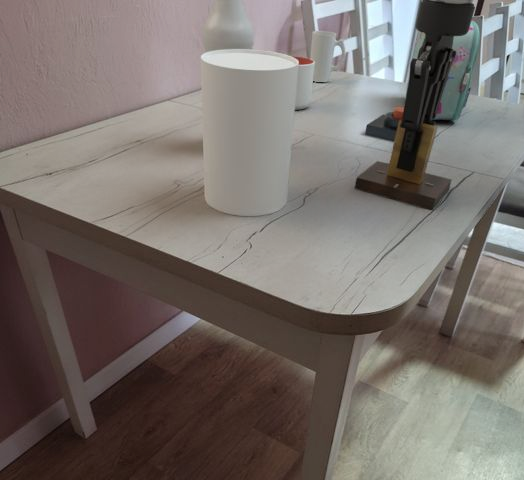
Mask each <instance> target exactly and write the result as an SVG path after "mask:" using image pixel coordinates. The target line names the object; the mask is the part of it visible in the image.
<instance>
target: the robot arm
mask: <svg viewBox="0 0 524 480" xmlns="http://www.w3.org/2000/svg"><path fill="white" fill-rule="evenodd" d="M473 2H474V0H421V1H420V3H419V7H418V12H417V17H416V21H415V29H416V30H417V32H418V31H420V32H424V33H425V38H424V41H423V44H422V47H421V48H420V49H419V53H418V57H417V59H414V58H413V59H412V58H411V60H410V64H409V72H410V77H409V76H408V78H409V83H408V82H407V83H408V89H407V88H406V89H407V94H406V93H405V101H404V105H403V107H404V111H403V117H402V122H401V124H400V127H401V128H405V133H404V137H403V141H402V145H401V150H400V154H399V158H398V163H397V167H396V168H398V169H402V170H405V171H409V172H412V171H413V168H414V164H415V160H416V156H417V152H418V149H419V145H420V141H421V137H422V133H423V131H422V130H421V129H422V124H423V123H425V124H429V125H433V126H436V123H437V121H436V120H432V119H435V117H436V115H437V111H438V107H439V104H440V101H441V98H442V94H443V91H444V88H445V85H446V81H447V78H448V75H449V71H450V68H451V66H452V63H453V61H454V58H455V56H456V51H455V50H453V49H451V48H452V45H453V39H454V36H463V35H466V34H467V33H468V31H469V28H470V24H471V21H473V17H474V13H475V10H476V6H475V4H474V3H473Z"/></svg>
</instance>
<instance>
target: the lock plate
mask: <svg viewBox="0 0 524 480" xmlns="http://www.w3.org/2000/svg"><path fill="white" fill-rule="evenodd" d="M388 168H389V163H388V162H384V161H380V160H377V161H376V162H374V163H373V164H372V165H370V166H369V167H368V168H367V169H365V170H364V171H363V172H362V173H360V174H359V175H357V177H355V182H354V183H355V184H354V189H355V190H359V191H361V192H366V193H370V194H373V195H376V196H380V197H384V198H388V199H391V200H395V201H398V202H402V203H404V204H405V203H406V204H409V205H412V206H416V207H420V208H423V209H428V210H431V211H433V210H434V209H435V207H436V206H437V205H438V204H439V203H440V201H441V200H442V199H443V198H444V197H445V195H446V194H447V193H448V192H449V191H450V187H451V185H452V181H453V180H452V179H451V178H447V177H444V176H439V175H435V174H432V173H427V172H425V175H424V179H423V181H422V182H421V183H420V184H417V183H413V182H410V181H406V180H403V179H399V178H396V177H392V176H389V175H387V172H388Z"/></svg>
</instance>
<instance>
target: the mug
mask: <svg viewBox="0 0 524 480" xmlns="http://www.w3.org/2000/svg"><path fill="white" fill-rule="evenodd" d="M311 32H312V36H311V44H310V46H311V47H310V56H309V57H310V58H309V59H311V60H313V61H314V62H315V65H314V75H313V81H315V82H314V83H316V82H327V81H329V80H330V81H331V73H333V72H337V73H338V72H339V71H340V69H341V67H342V65H343V63H344V62H345V58H346V45H345V42H344V39H338V40H337V33H336V32H333V31H327V30H314V31H311ZM336 46H338V47H339V48H340V50H341V57H340V59H339V62H338V63H337V64H336V65H334V64H333V60H334V53H335V47H336ZM330 81H329V82H330ZM327 83H328V82H327Z"/></svg>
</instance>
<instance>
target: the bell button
mask: <svg viewBox="0 0 524 480" xmlns="http://www.w3.org/2000/svg"><path fill="white" fill-rule="evenodd" d="M403 111H404V106H397V107H394V109H393V112H394V113H393V117H395V118H398V119H402V117H403Z"/></svg>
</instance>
